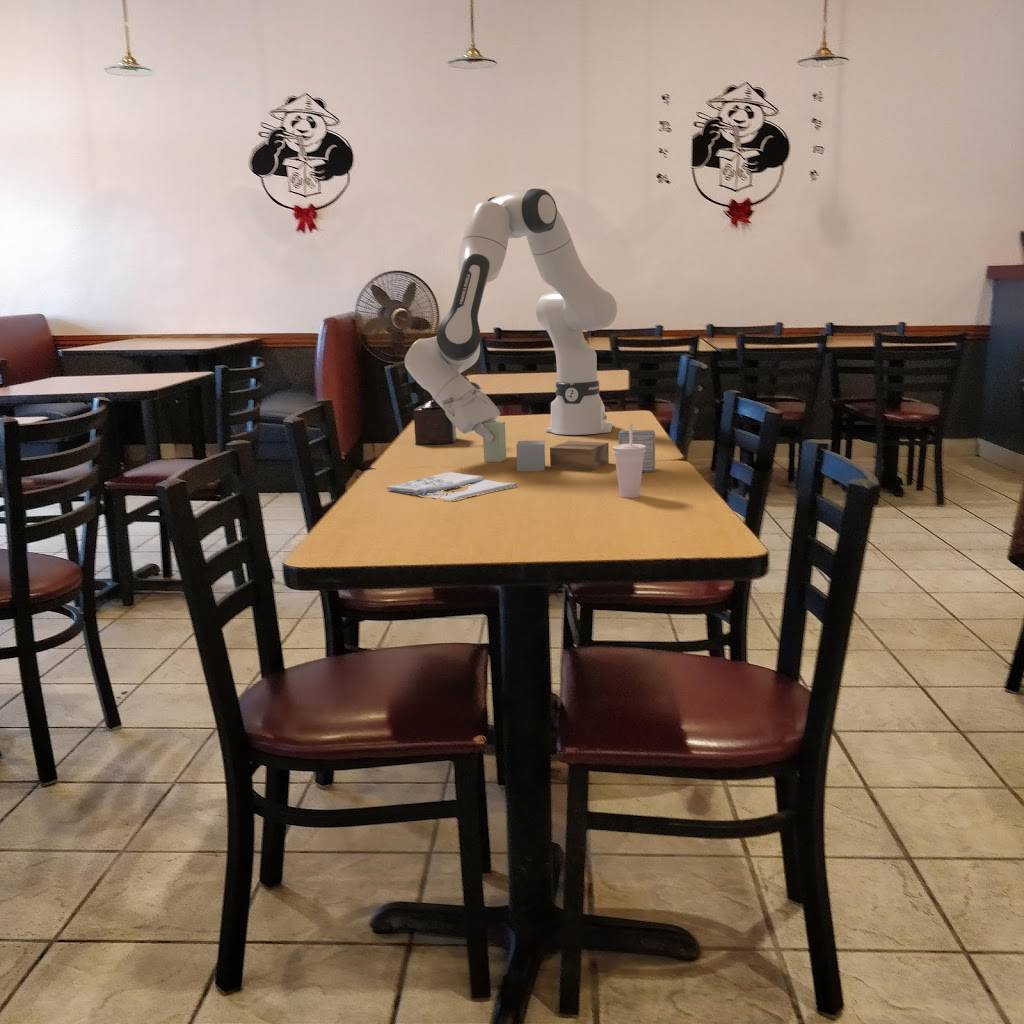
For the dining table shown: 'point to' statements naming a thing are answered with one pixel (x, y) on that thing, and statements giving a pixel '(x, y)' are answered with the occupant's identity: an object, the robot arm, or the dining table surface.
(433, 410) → the coffee grinder
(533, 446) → the slate block
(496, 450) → the sage pillar
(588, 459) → the walnut block
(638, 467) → the smoothie
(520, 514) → the dining table surface
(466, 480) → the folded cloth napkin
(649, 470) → the medicine box
